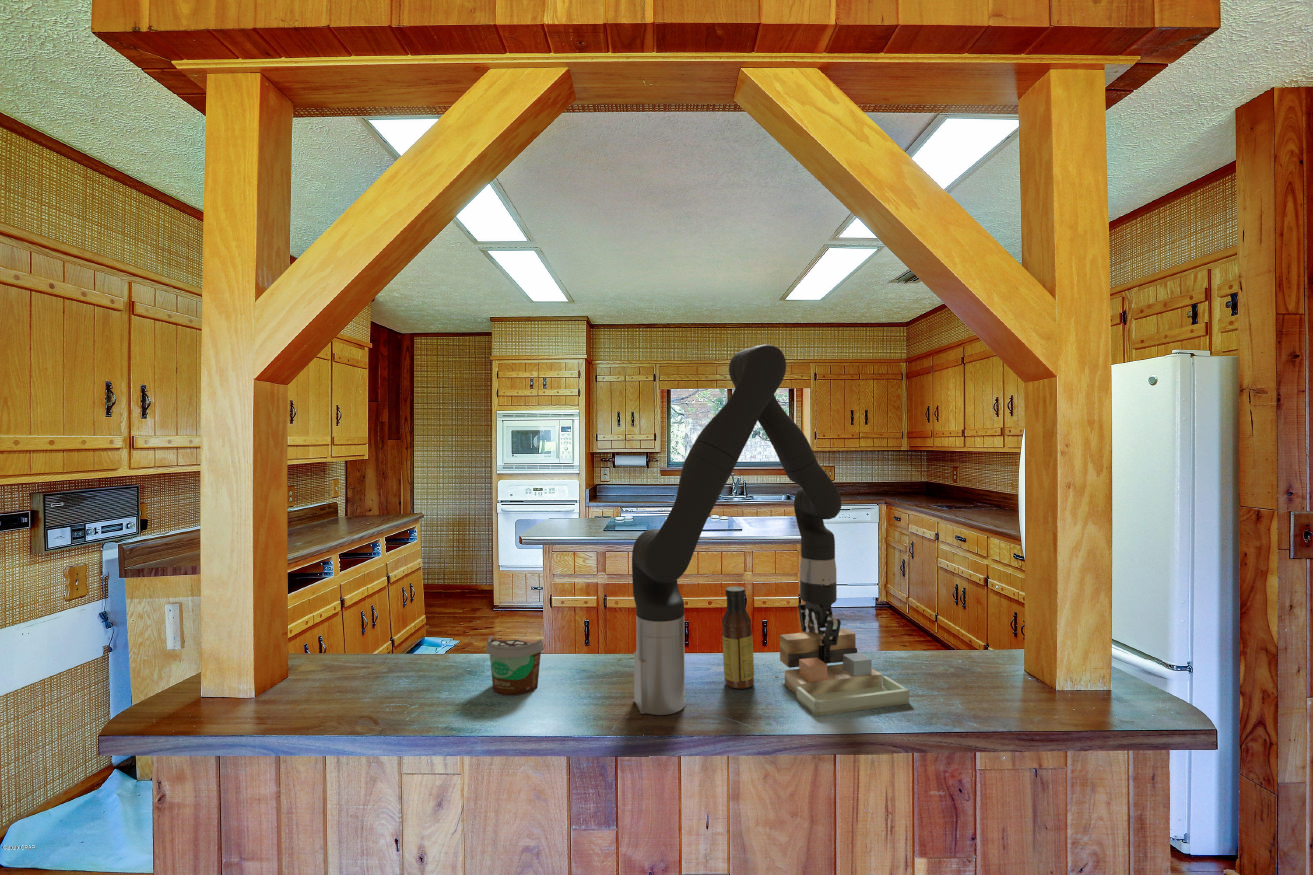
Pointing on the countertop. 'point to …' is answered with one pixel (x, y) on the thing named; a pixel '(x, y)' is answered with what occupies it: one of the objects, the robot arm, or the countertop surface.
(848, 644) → the brown and black bar
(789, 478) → the robot arm
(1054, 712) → the countertop surface
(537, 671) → the food container
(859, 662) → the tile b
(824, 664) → the salmon pink block
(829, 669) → the board
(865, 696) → the tray
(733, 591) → the sauce bottle
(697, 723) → the countertop surface
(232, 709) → the countertop surface
